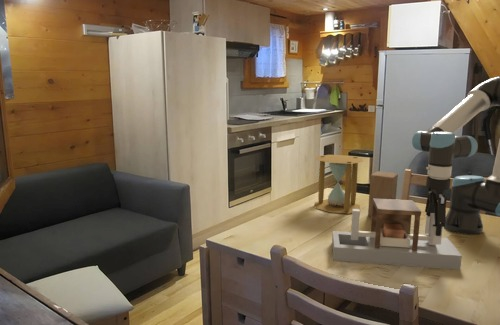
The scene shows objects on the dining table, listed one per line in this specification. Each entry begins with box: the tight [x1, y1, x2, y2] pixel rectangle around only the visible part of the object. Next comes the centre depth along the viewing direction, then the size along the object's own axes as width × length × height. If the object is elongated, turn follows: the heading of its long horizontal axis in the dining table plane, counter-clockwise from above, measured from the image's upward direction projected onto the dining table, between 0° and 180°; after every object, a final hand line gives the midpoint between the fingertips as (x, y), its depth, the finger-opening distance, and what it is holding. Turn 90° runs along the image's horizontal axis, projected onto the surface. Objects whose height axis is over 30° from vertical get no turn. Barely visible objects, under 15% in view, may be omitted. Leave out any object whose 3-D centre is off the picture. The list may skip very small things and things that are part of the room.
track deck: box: [331, 230, 463, 271], centre depth 151 cm, size 42×16×5 cm, turn 81°
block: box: [383, 224, 404, 238], centre depth 150 cm, size 6×6×6 cm
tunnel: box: [370, 198, 422, 251], centre depth 149 cm, size 14×14×14 cm
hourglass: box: [314, 154, 364, 215], centre depth 206 cm, size 24×22×25 cm
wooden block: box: [367, 170, 399, 218], centre depth 193 cm, size 10×10×20 cm
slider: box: [350, 209, 437, 248], centre depth 149 cm, size 29×10×11 cm, turn 81°
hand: (432, 238), depth 148 cm, fingers open, 9 cm apart
